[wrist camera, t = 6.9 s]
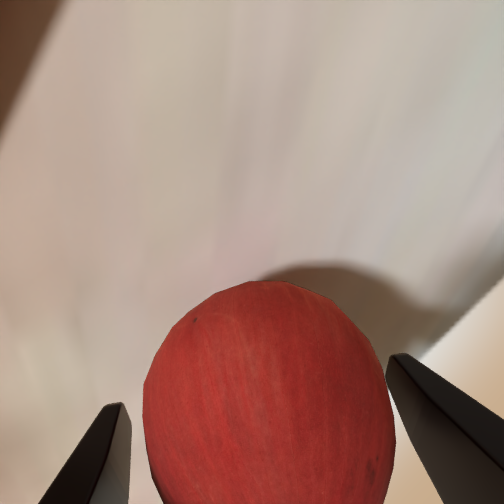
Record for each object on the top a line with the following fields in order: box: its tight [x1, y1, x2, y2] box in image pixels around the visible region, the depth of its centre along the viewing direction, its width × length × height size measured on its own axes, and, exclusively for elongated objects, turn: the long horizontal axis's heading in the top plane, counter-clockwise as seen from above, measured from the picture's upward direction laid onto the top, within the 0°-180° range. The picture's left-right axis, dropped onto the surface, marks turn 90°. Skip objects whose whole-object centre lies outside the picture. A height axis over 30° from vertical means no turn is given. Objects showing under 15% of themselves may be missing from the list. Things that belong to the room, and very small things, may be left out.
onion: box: [142, 281, 396, 504], centre depth 8 cm, size 6×6×8 cm
